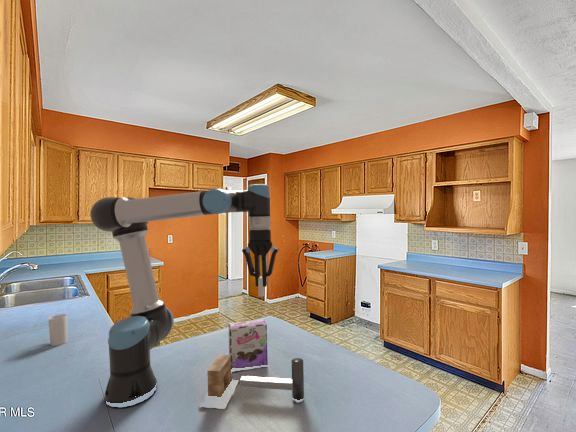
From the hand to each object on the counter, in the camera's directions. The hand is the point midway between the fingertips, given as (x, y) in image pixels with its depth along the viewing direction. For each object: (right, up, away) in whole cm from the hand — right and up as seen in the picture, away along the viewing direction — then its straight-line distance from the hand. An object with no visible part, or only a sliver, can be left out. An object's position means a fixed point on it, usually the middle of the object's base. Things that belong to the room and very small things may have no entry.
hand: (261, 295), depth 110 cm
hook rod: (+4, -28, -13) cm, 32 cm away
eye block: (-12, -29, -10) cm, 33 cm away
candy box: (-6, -29, +7) cm, 30 cm away
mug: (-96, -30, +32) cm, 105 cm away
